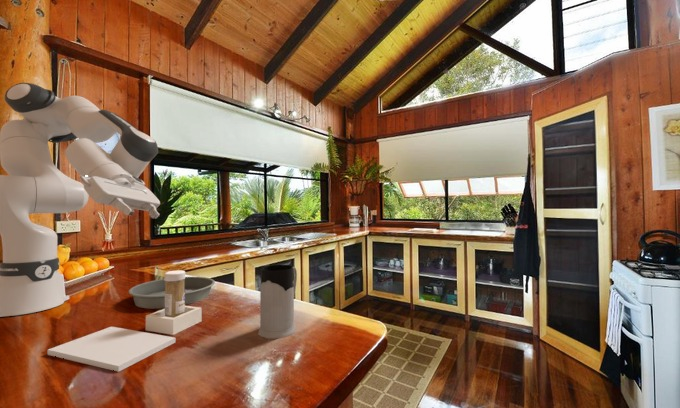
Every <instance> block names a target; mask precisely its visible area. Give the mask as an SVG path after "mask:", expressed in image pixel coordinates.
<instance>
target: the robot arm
mask: <svg viewBox="0 0 680 408" xmlns="http://www.w3.org/2000/svg"><path fill="white" fill-rule="evenodd" d="M4 101H5V102H6V104H7V105H8V107H10V108H11V109H12V110H13V111H14V112H16V113H18V114H19V115H20V116H22V117H23V118H22V119H13V120H12V119H11V120H8V121H6V122H5V123H4V124H2V127H1V128H0V166H1V168H3V170H4V171H5V173H7V175H5V174H0V238H1V245H2V262H1V263H0V318H2V317H4V318H5V317H10V316H12V317H13V316H22V315H27V314H33V313H36V312H37V313H38V312H41V311H45V310H49V309H50V310H51V309H53V308H57V307H59V306H61V305H63V304H64V303H65V302H66V301H68V300H70V295H68V294H67V295H66V288H65V278H64V274H62V273H60V272H59V269H60V257H58V234H57V232H56V231H54V230H53V229H52V228H49V227H48V226H45V225H42V224H38V223H35V222H33V221H31V218H30V215H31V214H66V213H73V212H77V211H82V209H84V208H85V206H86V205H87V204H88V202H89V198H91V200H92V201H94V202H95V203H97V204H100V205H106V206H112V207H113V208H116V209H117V210H118V211H120V212H122V214H124V215H125V216H132V215H133V214H134V213H135V210H139V211H140V210H141V211H144V212H145V211H146V212H148V216H149V217H150V218H151V219H158V218H159V217H160V213H159V212H158V211H157V208H159V206H160V205H161V201H160V200H159V198H158V197H157V196H156V195H155V194H154V193H153V192H152V191H151V190H150V189H149V188H148V187H147V186H145V185H146V183H145V182H144V180H142V179H140V178H139V177H140V176H141V175H142V174H143V172H144V171H145V170H146V168H147V166H149V164H150V162H151V161H153V159H154V158H155V157H156V156H157V155H158V154H159V147H158V144H157V141H156V140H155V139H154V138H152V137H151V136H149V135H148V134H146V133H144V132H142V131H141V130H139V129H138V128H137V127H135V125H133V124H131V123H130V122H128V121H127V120H126V119H125V118H123V117H121V116H120V115H118V114H117V113H114V112H112V111H110V110H108V109H107V110H106V109H100V108H99V107H98V106H97V105H95V104H94V103H93V102H92V101H90V99H88V98H85V97H83V96H80V95H69V96H66V97H63V98H61V97H58V96H56V95H55V92H54V91H52V90H50V89H47V88H45V87H44V88H43V87H42V86H40V85H37V84H35V83H31V82H20V83H17V84H14V85H11V87H9V88H8V89H7V90H6V92H5V93H4ZM116 134H119V136H120V137H119V139H118V141H117V143H116V144H115V146H114V148H112V150H111V151H110V152H107V151H106V150H104V148H102V147H101V146H100V145H99V144H97V143H103V142H107V141H108V140H110V139H112V137H113V136H114V135H116ZM71 141H72V142H71ZM66 142H71V143H69V144H68V146H67V147H66V149H65V151H64V155H65V158H66V160H67V162H68V163H69V164H70V166H71V167H72V168H73V169H74V171H76V173H78V174H79V175H80V176H79V180H80V181H79V180H76V179H74V178H71V177H70V176H67V175H66V174H65V173H63V172H62V171H61V170H60V169H59V168H58V167H57V166H56V165H55V164H54V161H53V158H52V155H51V151H50V146H49V143H54V144H58V143H66Z"/></svg>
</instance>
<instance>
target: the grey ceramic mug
mask: <svg viewBox="0 0 680 408" xmlns="http://www.w3.org/2000/svg"><path fill="white" fill-rule="evenodd" d="M260 271H261V272H260V273H261V274H260V276H261V277H260V278H261V279H260V282H261V283H260V286H259V287H260V288H259V289H260V290H259V291H260V299H259V300H260V305H259V306H260V308H259V309H260V311H259V312H260V313H259V314H260V315H259V317H260V324H259V325H260V326H259V329H258V335H259V336H260V337H261V338H264V339H272V340H273V339H274V340H275V339H282V338H286V337H289V336H291V335H293V334H294V333H295V332H296V330H297V329H296V326H295V320H294V319H295V316H294V315H295V314H294V313H295V312H294V311H295V308H294V307H295V304H294V303H295V302H294V301H295V299H294V298H295V294H296V293H295V292H296V287H297V279H298V277H297V276H298V273H297V268H296V267H295V266H293V265H288V264H271V265H266V266H263V267H261V268H260Z"/></svg>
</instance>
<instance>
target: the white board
mask: <svg viewBox="0 0 680 408" xmlns="http://www.w3.org/2000/svg"><path fill="white" fill-rule="evenodd" d="M173 344H176V337H174V336H173V337H172V336H168V335H161V334H156V333H150V332H146V331H145V332H144V331H138V330H133V329H128V328H122V327H116V326H109V327H106V328H104V329H101V330H98V331H95V332H92V333H89V334H87V335H85V336H82V337H79V338H75V339H73V340H71V341H68V342H65V343H63V344H60V345H56V346H55V347H52V348H49V349H47V356H52V357H55V356H56V357H57V358H60V359H63V358H64V360H68V361H72V362H76V363H81V364H85V365H89V366H92V367H97V368H102V369H104V370H110V371H113V370H114V371H115V372H119V373H120V372H121V371H123V370H125V369H127V368H128V367H130V366H132V365H134V364H137V363H138V362H140V361H142V360H144V359H146V358H148V357H150V356H152V355H154V354H155V353H157V352H159V351H161V350H164V349H165V348H167V347H169V346H172V345H173Z"/></svg>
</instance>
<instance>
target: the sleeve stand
mask: <svg viewBox="0 0 680 408" xmlns="http://www.w3.org/2000/svg"><path fill="white" fill-rule="evenodd" d="M202 308H203V307H200V306H199V307H198V306H190V305H185V311H184V314H181V315H179V316H177V317H174V318H172V317H165V308H161V309H159V310H157V311H155V312H152V313H150V314H149V313H148V314H147V315H145V331H147V332H152V333H153V332H155V333H159V334H166V335H172V336H174V335H176V334H178V333H180V332H182V331H184V330H187V329H188V328H190V327H192V326H195V325H196V324H199V323H201V322H202V321H203V317H202V314H203V313H202V312H203V311H202Z"/></svg>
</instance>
